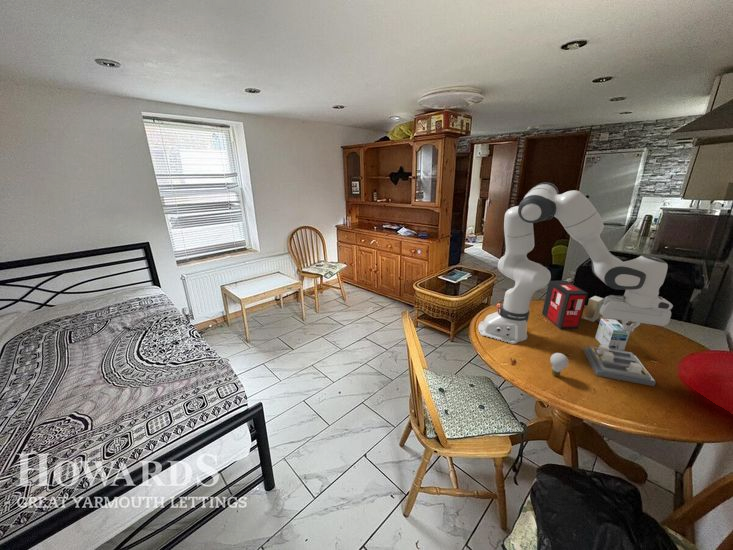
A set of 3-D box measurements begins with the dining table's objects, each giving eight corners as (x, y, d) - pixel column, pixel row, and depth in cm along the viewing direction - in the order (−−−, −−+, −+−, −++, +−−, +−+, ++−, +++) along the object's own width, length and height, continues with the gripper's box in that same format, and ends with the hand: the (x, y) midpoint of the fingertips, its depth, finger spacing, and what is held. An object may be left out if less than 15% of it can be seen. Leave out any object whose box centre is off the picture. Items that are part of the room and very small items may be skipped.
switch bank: (596, 375, 113) (598, 368, 112) (583, 350, 128) (585, 344, 127) (654, 386, 107) (657, 378, 106) (633, 359, 122) (636, 352, 121)
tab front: (628, 373, 111) (631, 366, 109) (625, 368, 113) (628, 361, 112) (641, 376, 109) (645, 368, 108) (638, 371, 112) (641, 363, 111)
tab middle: (602, 362, 118) (604, 354, 116) (599, 357, 120) (601, 350, 119) (613, 364, 116) (616, 356, 115) (611, 359, 119) (613, 352, 117)
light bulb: (543, 370, 117) (548, 349, 113) (558, 370, 117) (563, 349, 113) (552, 380, 112) (557, 359, 108) (567, 380, 111) (573, 359, 108)
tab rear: (597, 355, 122) (600, 347, 121) (595, 350, 124) (597, 344, 123) (609, 356, 120) (611, 349, 119) (606, 352, 123) (609, 345, 122)
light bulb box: (624, 352, 126) (631, 331, 122) (606, 351, 128) (613, 330, 124) (610, 338, 136) (616, 319, 132) (594, 337, 137) (599, 318, 134)
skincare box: (589, 315, 157) (594, 295, 152) (598, 318, 153) (604, 298, 149) (583, 318, 154) (588, 298, 149) (592, 322, 150) (598, 301, 146)
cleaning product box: (541, 313, 160) (549, 280, 153) (557, 313, 160) (565, 280, 153) (560, 329, 145) (569, 293, 137) (578, 329, 145) (588, 293, 137)
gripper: (609, 297, 107) (598, 329, 112) (679, 306, 101) (664, 339, 106) (602, 291, 113) (592, 321, 118) (668, 299, 106) (655, 331, 111)
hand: (627, 330), depth 112 cm, fingers closed
